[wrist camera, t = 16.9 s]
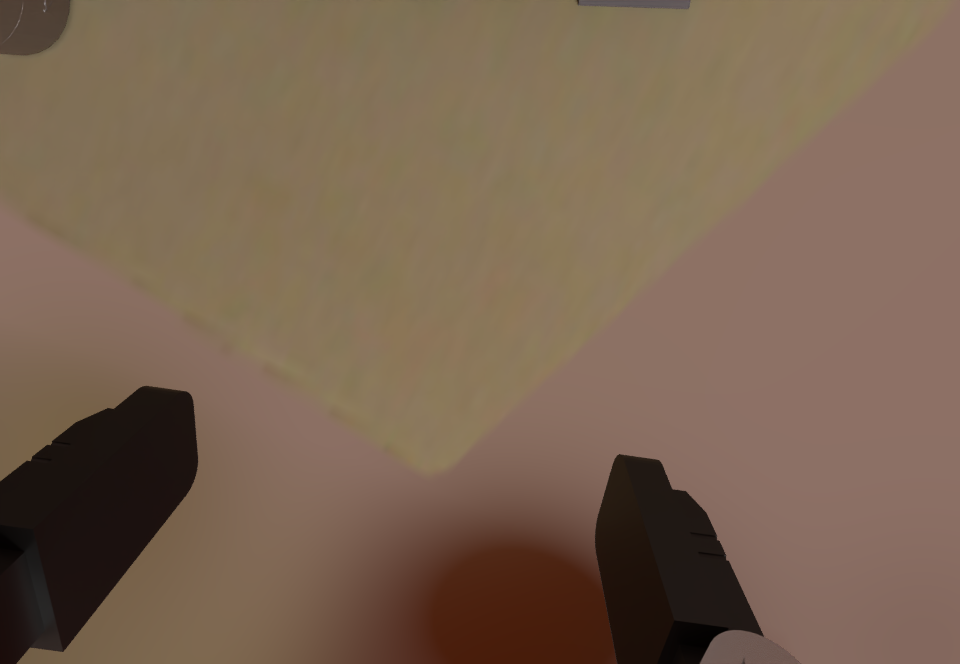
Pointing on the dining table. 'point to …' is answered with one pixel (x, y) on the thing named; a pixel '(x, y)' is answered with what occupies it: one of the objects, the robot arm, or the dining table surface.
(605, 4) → the mat
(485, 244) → the dining table surface
